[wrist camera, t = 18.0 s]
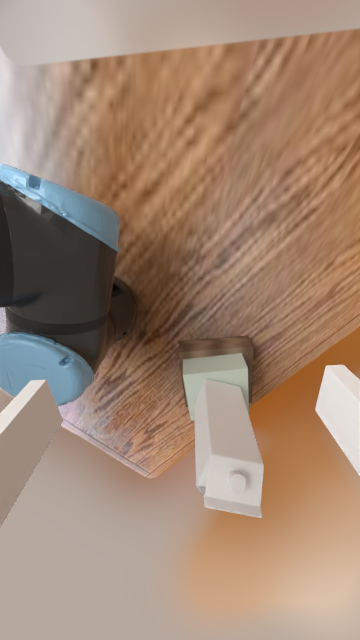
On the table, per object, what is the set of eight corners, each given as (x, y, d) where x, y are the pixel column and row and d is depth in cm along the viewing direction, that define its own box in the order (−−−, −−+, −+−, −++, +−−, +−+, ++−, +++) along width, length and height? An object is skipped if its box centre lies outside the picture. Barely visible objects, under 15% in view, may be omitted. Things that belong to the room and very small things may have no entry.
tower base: (185, 391, 56) (185, 406, 52) (179, 340, 50) (178, 352, 46) (246, 387, 55) (251, 402, 51) (247, 334, 49) (253, 346, 45)
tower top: (190, 402, 51) (190, 420, 47) (182, 359, 46) (182, 375, 42) (243, 397, 50) (249, 415, 46) (241, 353, 45) (247, 368, 41)
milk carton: (228, 412, 45) (251, 532, 28) (194, 405, 45) (196, 522, 27) (240, 385, 42) (274, 501, 25) (204, 377, 42) (213, 489, 25)
